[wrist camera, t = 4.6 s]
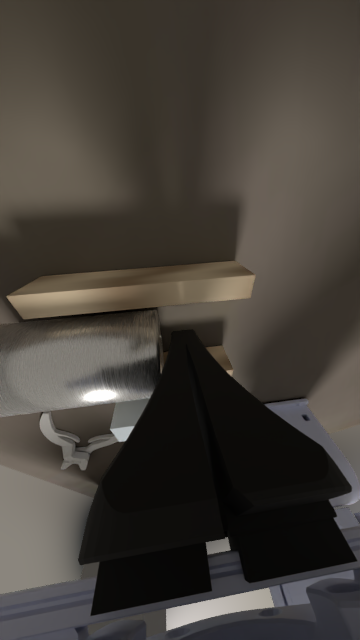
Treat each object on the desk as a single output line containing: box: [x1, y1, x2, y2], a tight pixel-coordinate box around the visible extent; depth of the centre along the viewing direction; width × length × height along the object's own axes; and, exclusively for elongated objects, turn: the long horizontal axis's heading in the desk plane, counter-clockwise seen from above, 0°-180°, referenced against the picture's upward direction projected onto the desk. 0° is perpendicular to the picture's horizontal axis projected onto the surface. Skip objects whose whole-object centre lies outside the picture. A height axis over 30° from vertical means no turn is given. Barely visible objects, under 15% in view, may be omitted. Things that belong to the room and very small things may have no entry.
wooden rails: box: [6, 261, 255, 376], centre depth 10 cm, size 11×8×2 cm
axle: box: [0, 310, 164, 417], centre depth 9 cm, size 9×5×5 cm, turn 93°
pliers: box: [40, 411, 118, 470], centre depth 21 cm, size 10×2×15 cm
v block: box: [110, 398, 150, 442], centre depth 16 cm, size 8×8×4 cm
